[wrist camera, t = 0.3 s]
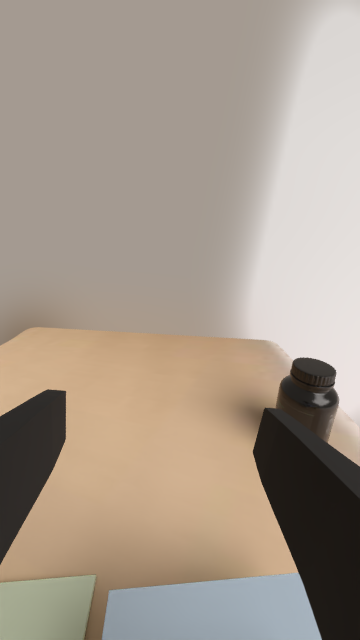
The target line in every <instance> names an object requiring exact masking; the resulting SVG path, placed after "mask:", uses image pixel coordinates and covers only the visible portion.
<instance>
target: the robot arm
mask: <svg viewBox="0 0 360 640" xmlns="http://www.w3.org/2000/svg"><path fill="white" fill-rule="evenodd" d="M65 440H66V391H60V390H48V389H47V390H46V391H44V392H42V393H40V394H38V395H36V396H35V397H33V398H31V399H29V400H28V401H26V402H24V403H23V404H21V405H19V406H17V407H16V408H14V409H12V410H11V411H9V412H7V413H5V414H4V415H2V416H0V564H1V562H2V561H3V559H4V557H5V555H6V553H7V551H8V550H9V548H10V546H11V544H12V542H13V541H14V539H15V537H16V535H17V534H18V532H19V530H20V528H21V526H22V525H23V523H24V521H25V519H26V517H27V516H28V514H29V512H30V510H31V509H32V507H33V505H34V503H35V501H36V500H37V498H38V496H39V494H40V492H41V491H42V489H43V487H44V485H45V483H46V482H47V480H48V478H49V476H50V474H51V472H52V470H53V468H54V466H55V464H56V461H57V459H58V457H59V454H60V452H61V450H62V447H63V445H64V442H65ZM253 455H254V458H255V462H256V466H257V469H258V472H259V476H260V479H261V482H262V485H263V487H264V490H265V492H266V495H267V497H268V500H269V502H270V504H271V507H272V509H273V512H274V514H275V516H276V519H277V521H278V524H279V526H280V528H281V531H282V533H283V536H284V538H285V540H286V543H287V545H288V547H289V550H290V552H291V555H292V557H293V559H294V562H295V564H296V567H297V569H298V572H299V575H300V577H301V580H302V583H303V585H304V588H305V591H306V594H307V597H308V600H309V603H310V606H311V609H312V612H313V615H314V618H315V621H316V624H317V627H318V630H319V633H320V636H321V639H322V640H360V467H359V466H358V465H357V464H355V463H354V462H352V461H351V460H350V459H348V458H347V457H345V456H344V455H343V454H341V453H340V452H339V451H337V450H336V449H335V448H333V447H332V446H331V445H329V444H328V443H327V442H325V441H324V440H323V439H321V438H320V437H319V436H317V435H316V434H315V433H313V432H312V431H311V430H309V429H308V428H307V427H305V426H304V425H303V424H301V423H300V422H298V421H297V420H296V419H294V418H293V417H292V416H290V415H289V414H287V413H286V412H284V411H283V410H281V409H274V408H265V409H264V412H263V416H262V420H261V423H260V427H259V431H258V434H257V438H256V442H255V445H254V449H253Z"/></svg>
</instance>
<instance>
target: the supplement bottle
mask: <svg viewBox="0 0 360 640" xmlns="http://www.w3.org/2000/svg"><path fill="white" fill-rule="evenodd" d="M335 377H336V370H335V369H334V368H333V367H332V366H330V365H329V364H327V363H325V362H323V361H320V360H316V359H312V358H297V359H295V360H294V361H293V363H292V369H291V371H290V375H288V376H286V377H285V378H284V379H283V380H282V381H281V383H280V387H279V392H278V397H277V403H276V408H275V409H281V410H283V411H284V412H286V413H287V414H289V415H290V416H292V417H293V418H294V419H296V420H297V421H298V422H300V423H301V424H303V425H304V426H305V427H307V428H308V429H309V430H311V431H312V432H313V433H315V434H316V435H317V436H319V437H320V438H321V439H323V440H324V441H325V442H327V443H328V439H329V436H330V432H331V429H332V426H333V422H334V419H335V415H336V412H337V408H338V404H339V397H338V394H337V392H336V391H335V389H334V388H333V387H334V384H335Z"/></svg>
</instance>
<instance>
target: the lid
mask: <svg viewBox="0 0 360 640" xmlns="http://www.w3.org/2000/svg"><path fill="white" fill-rule="evenodd" d="M102 640H322V639H321V636H320V633H319V630H318V627H317V624H316V621H315V618H314V615H313V612H312V609H311V606H310V603H309V600H308V597H307V594H306V591H305V588H304V585H303V583H302V580H301V577H300V575H299V573H291V574H280V575H270V576H259V577H248V578H237V579H226V580H215V581H205V582H194V583H183V584H172V585H161V586H150V587H140V588H129V589H118V590H109V595H108V602H107V608H106V615H105V621H104V628H103V635H102Z"/></svg>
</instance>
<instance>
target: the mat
mask: <svg viewBox="0 0 360 640" xmlns="http://www.w3.org/2000/svg"><path fill="white" fill-rule="evenodd" d="M95 582H96V575H84V576H73V577H61V578H50V579H38V580H27V581H15V582H4V583H0V640H84V638H85V633H86V628H87V623H88V618H89V613H90V608H91V602H92V597H93V592H94V587H95Z"/></svg>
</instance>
